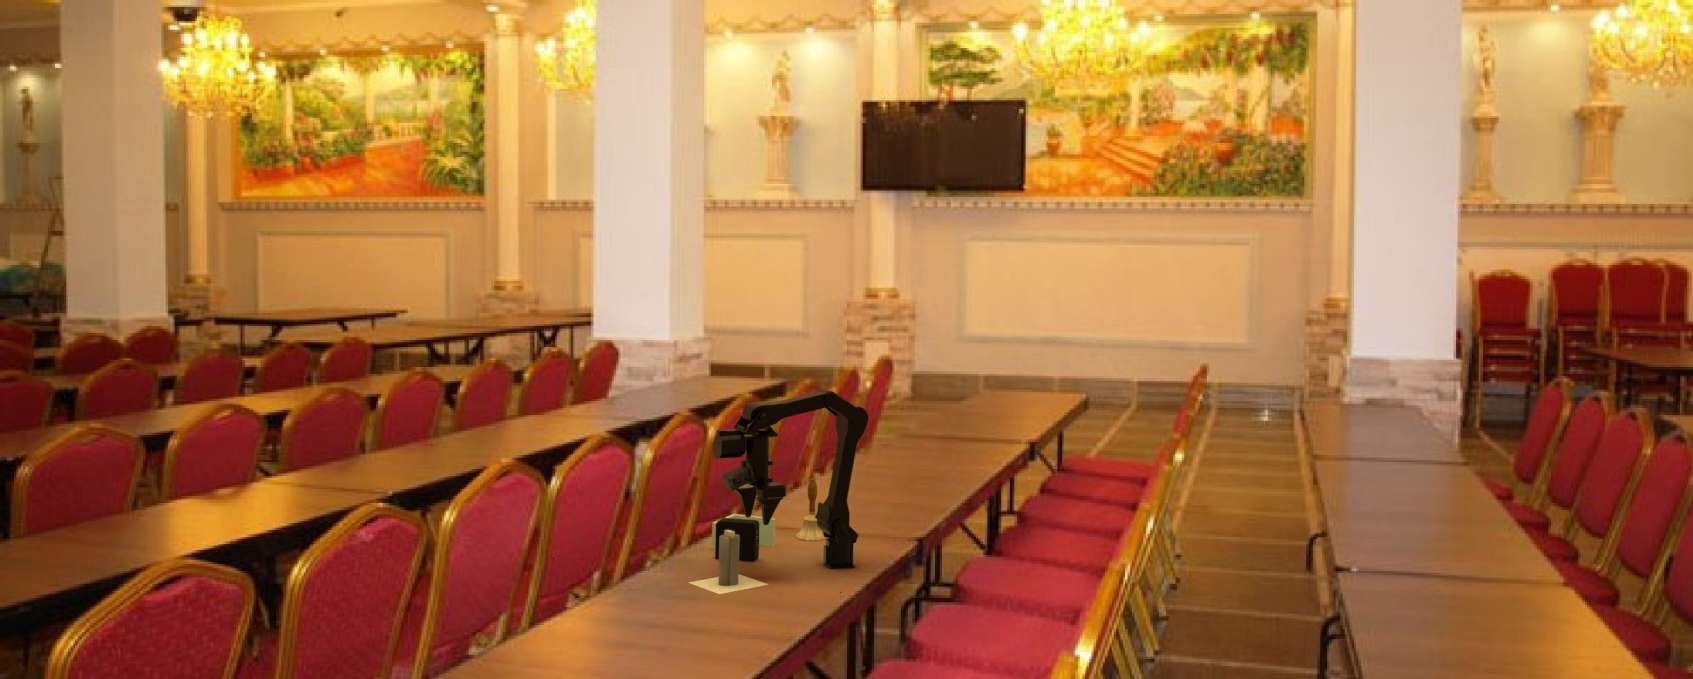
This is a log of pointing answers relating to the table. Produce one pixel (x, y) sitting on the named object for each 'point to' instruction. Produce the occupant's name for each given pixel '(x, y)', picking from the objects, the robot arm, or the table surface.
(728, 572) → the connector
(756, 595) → the table surface
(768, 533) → the l-shaped corner panel
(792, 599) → the table surface
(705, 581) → the mat
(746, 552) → the electronic device
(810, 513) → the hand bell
